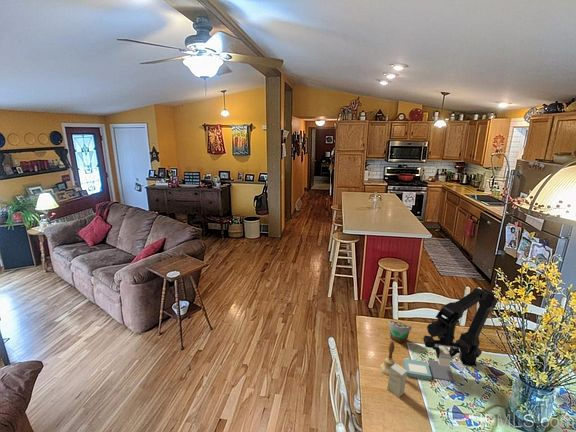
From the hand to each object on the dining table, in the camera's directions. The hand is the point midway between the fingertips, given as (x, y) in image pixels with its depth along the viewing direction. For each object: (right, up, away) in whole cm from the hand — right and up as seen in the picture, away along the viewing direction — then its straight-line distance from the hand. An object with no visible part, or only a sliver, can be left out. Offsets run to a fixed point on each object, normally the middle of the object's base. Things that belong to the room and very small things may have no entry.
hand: (442, 358), depth 149 cm
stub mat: (0, -7, +2) cm, 7 cm away
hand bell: (-26, -6, +2) cm, 27 cm away
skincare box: (-26, -10, -10) cm, 30 cm away
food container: (-14, -1, +23) cm, 27 cm away
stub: (0, -1, 0) cm, 1 cm away
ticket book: (-12, -6, +2) cm, 14 cm away
